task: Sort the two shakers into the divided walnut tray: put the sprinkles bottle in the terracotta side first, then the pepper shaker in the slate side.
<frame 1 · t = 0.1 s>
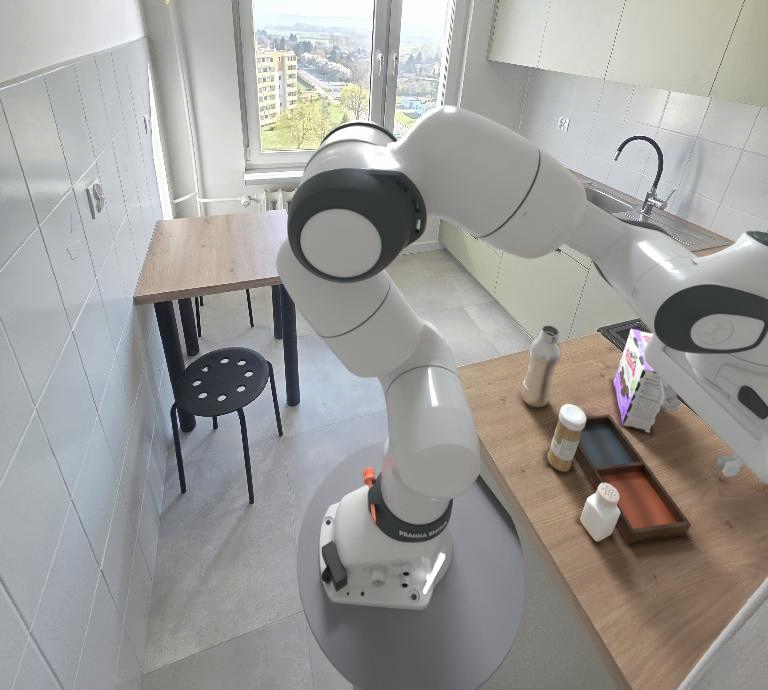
hand: (694, 437, 56), 29 cm above the counter, tool pointing down, fingers open, 8 cm apart
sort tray: (615, 476, 81), on the counter
candy box: (630, 405, 96), on the counter
sprinkles bottle: (558, 462, 83), on the counter
pepper shaker: (594, 528, 72), on the counter
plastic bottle: (533, 400, 97), on the counter
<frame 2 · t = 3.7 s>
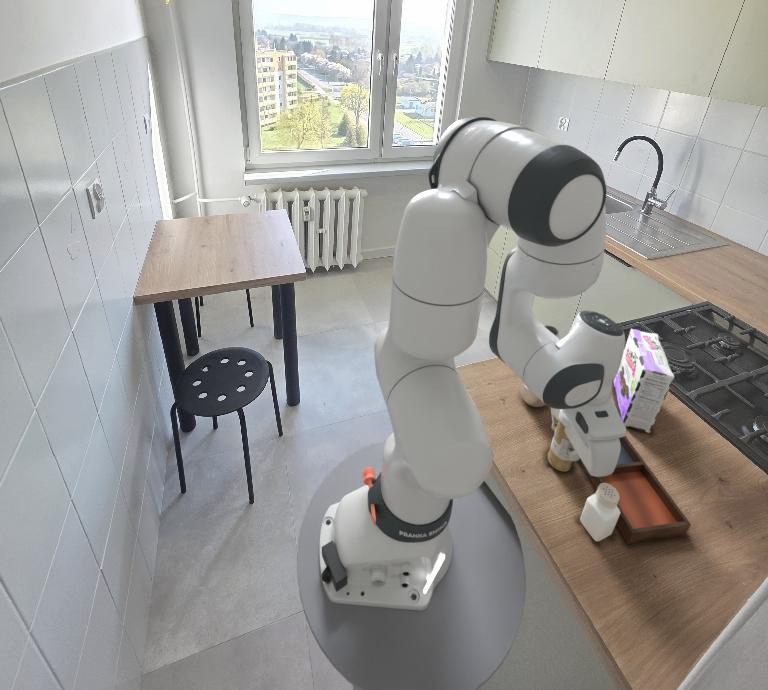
hand: (564, 444, 81), 5 cm above the counter, tool pointing down, fingers closed on sprinkles bottle, 4 cm apart
sprinkles bottle: (558, 462, 83), on the counter, touching gripper
everything else where it was.
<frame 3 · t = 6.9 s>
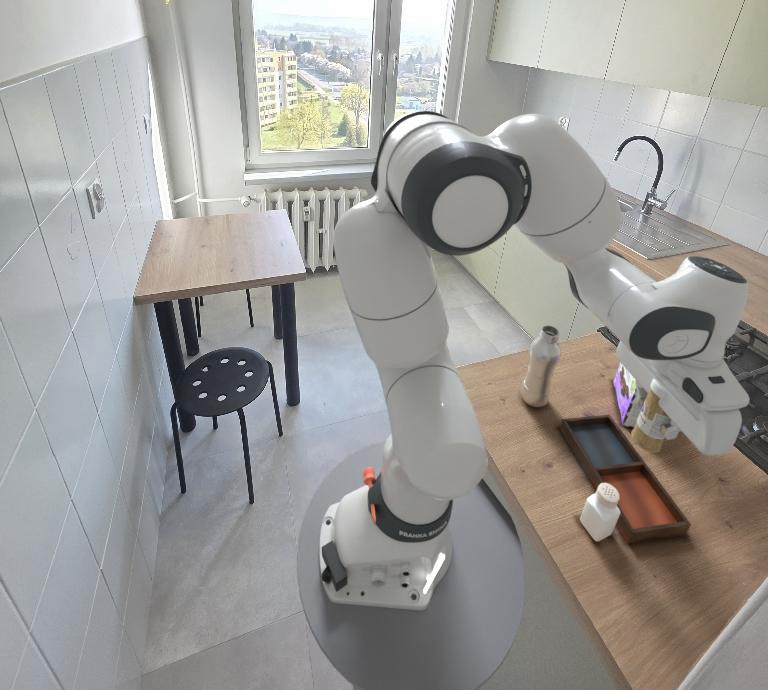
hand: (654, 420, 69), 20 cm above the counter, tool pointing down, fingers closed on sprinkles bottle, 4 cm apart
sprinkles bottle: (645, 442, 71), point 15 cm above the counter, touching gripper
everything else where it was.
when the fingers open (6 cm above the counter, at t = 10.5 s): sprinkles bottle stays where it is, resting on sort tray.
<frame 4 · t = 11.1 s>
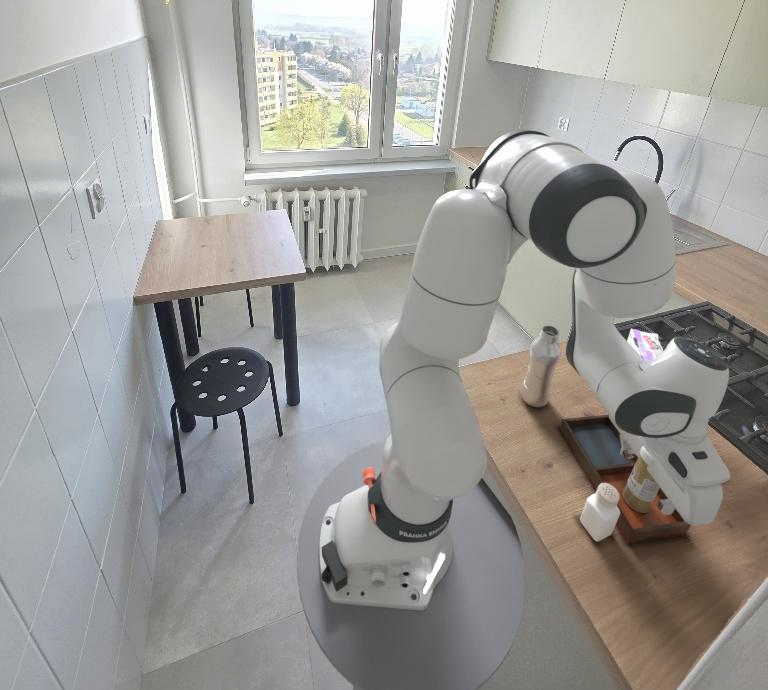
hand: (643, 482, 73), 6 cm above the counter, tool pointing down, fingers open, 8 cm apart
sprinkles bottle: (635, 501, 76), point 1 cm above the counter, touching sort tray
everything else where it was.
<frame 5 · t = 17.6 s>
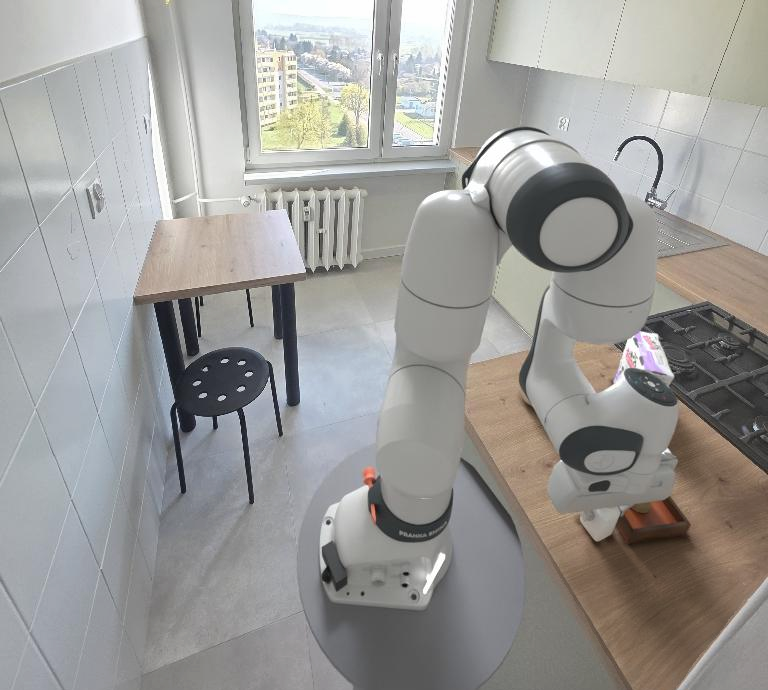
hand: (600, 514, 71), 4 cm above the counter, tool pointing down, fingers closed on pepper shaker, 4 cm apart
pepper shaker: (594, 528, 72), on the counter, touching gripper
everything else where it was.
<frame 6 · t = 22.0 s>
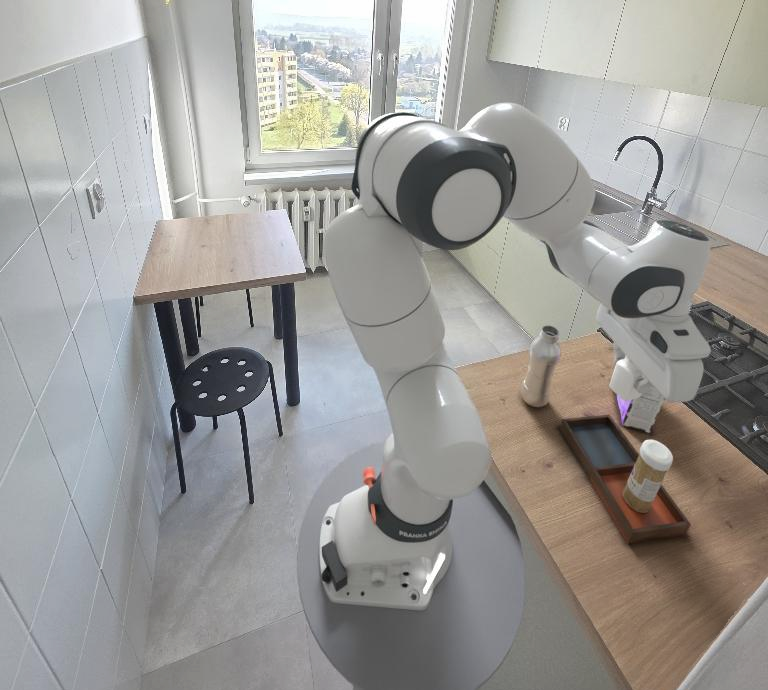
hand: (629, 377, 74), 23 cm above the counter, tool pointing down, fingers closed on pepper shaker, 4 cm apart
pepper shaker: (623, 393, 75), point 19 cm above the counter, touching gripper
everything else where it was.
when the fingers open (4 cm above the counter, at t = 26.6 s): pepper shaker stays where it is, resting on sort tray.
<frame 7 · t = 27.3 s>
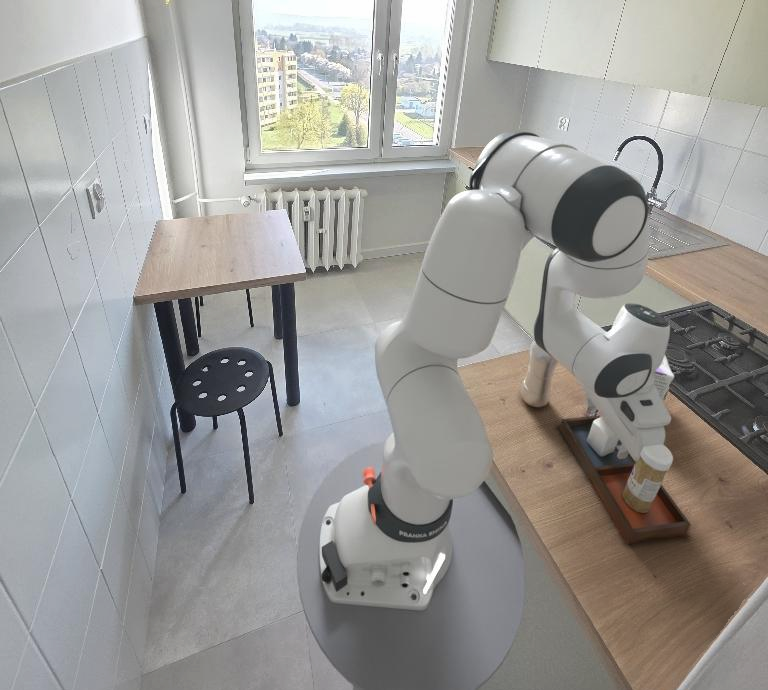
hand: (604, 433, 84), 5 cm above the counter, tool pointing down, fingers open, 8 cm apart
pepper shaker: (599, 447, 85), point 1 cm above the counter, touching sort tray
everything else where it was.
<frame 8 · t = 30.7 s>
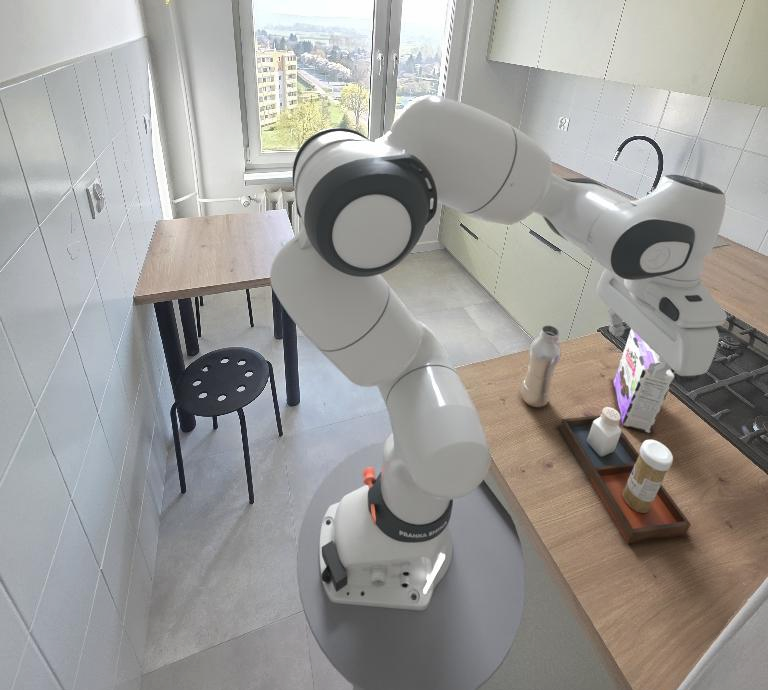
hand: (633, 353, 68), 31 cm above the counter, tool pointing down, fingers open, 8 cm apart
nothing on the counter moved.
at the end: sprinkles bottle inside the target area on the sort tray (0.1 cm from its centre), point 0.8 cm above the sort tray's base; pepper shaker inside the target area on the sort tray (0.1 cm from its centre), point 0.8 cm above the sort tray's base; sprinkles bottle tilted 0° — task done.
